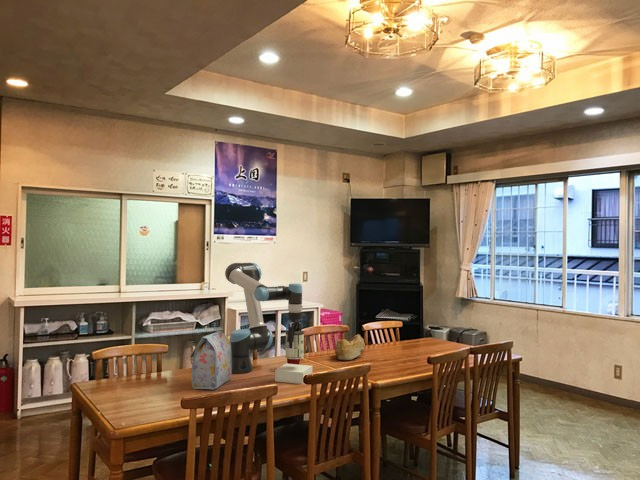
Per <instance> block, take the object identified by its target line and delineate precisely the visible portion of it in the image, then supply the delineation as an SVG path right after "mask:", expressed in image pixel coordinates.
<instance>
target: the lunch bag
mask: <svg viewBox="0 0 640 480" xmlns="http://www.w3.org/2000/svg"><path fill="white" fill-rule="evenodd" d="M189 357H190V358H192V359H191V360H192V361H191V387H192V389H193V390H212V391H213V390H217V389H218V388H219V387H220V386H222V385H223V384H225V383H227V382H229V381H231V379H232V374H233V373H232V354H231V343H230V338H229V337H228V336H227V335H226V333H225V332H223V331H222V330H220V331H219V330H217V331H215V332H213V333H212V332H211V333H210V334H207V335H204V336H202V337H201V339H200V341H199V342H198V343H197V345H196V346H195V348H194V349H193V351H192V352H191V353H190V356H189Z"/></svg>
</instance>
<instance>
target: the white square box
mask: <svg viewBox="0 0 640 480" xmlns="http://www.w3.org/2000/svg"><path fill="white" fill-rule="evenodd" d="M311 373H312V374H313V365H307V364H299V365H297V364H288V363H284V364H282V365H280V366H279V367H278V368H276V369H275V370H274V382H278V383H279V382H281V383H290V384H299V385H303V377H304V376H305V375H307V374H311Z"/></svg>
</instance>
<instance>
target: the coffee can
mask: <svg viewBox="0 0 640 480" xmlns="http://www.w3.org/2000/svg"><path fill="white" fill-rule="evenodd" d="M301 330H302V329H301ZM301 330H300V331H295V333H293V335H294V340H293V342H294V354H289V342H287V337H288V330H286V331H285V349H286V351H285V359H287V358H288V359H300V360H302V359H304V358H305V331H304V330H302V331H301Z"/></svg>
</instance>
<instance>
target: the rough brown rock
mask: <svg viewBox="0 0 640 480" xmlns="http://www.w3.org/2000/svg"><path fill="white" fill-rule="evenodd" d="M364 340H365V339H364V338H363V337H362V336H361V334H359V333H357V334H356V335H354V336H352V337H351V338H350V339H349V340H347V339H345V338H343V339H339V340H337V341H336V344H335V348H334V353H335V357H336V358H337V360H339V361H351V360H354V359H356V358H359V357H361V355H362V352H364V350H366V344H365V341H364Z"/></svg>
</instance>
